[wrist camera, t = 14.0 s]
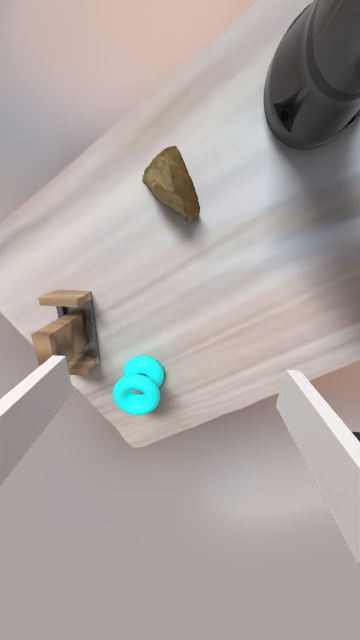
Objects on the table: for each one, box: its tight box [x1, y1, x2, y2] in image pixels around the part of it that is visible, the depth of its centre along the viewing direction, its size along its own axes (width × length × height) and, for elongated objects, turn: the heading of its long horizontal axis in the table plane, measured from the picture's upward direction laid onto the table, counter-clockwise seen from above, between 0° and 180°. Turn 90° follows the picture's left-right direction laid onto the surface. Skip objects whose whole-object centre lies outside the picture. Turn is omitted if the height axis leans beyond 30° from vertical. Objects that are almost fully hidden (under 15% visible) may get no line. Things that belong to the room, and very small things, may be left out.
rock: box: [142, 146, 200, 223], centre depth 33 cm, size 11×9×10 cm
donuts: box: [113, 356, 164, 415], centre depth 46 cm, size 10×10×10 cm
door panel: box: [31, 312, 88, 367], centre depth 41 cm, size 8×3×12 cm, turn 178°
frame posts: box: [38, 290, 100, 376], centre depth 44 cm, size 18×7×6 cm, turn 178°
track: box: [56, 299, 99, 359], centre depth 46 cm, size 14×7×2 cm, turn 178°
